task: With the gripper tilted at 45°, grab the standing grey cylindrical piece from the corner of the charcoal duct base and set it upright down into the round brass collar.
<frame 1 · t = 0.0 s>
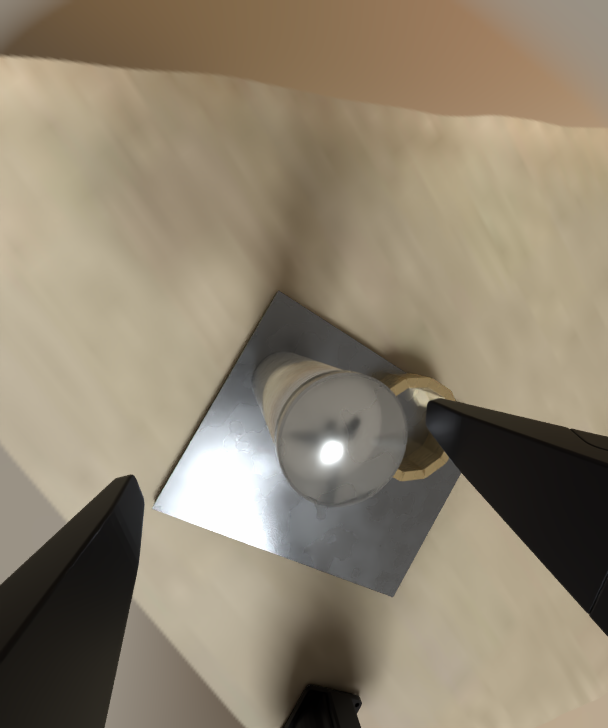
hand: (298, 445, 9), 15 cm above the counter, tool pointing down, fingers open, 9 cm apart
grey cylindrical piece: (283, 382, 24), point 1 cm above the counter, touching duct base
duct base: (338, 457, 26), on the counter
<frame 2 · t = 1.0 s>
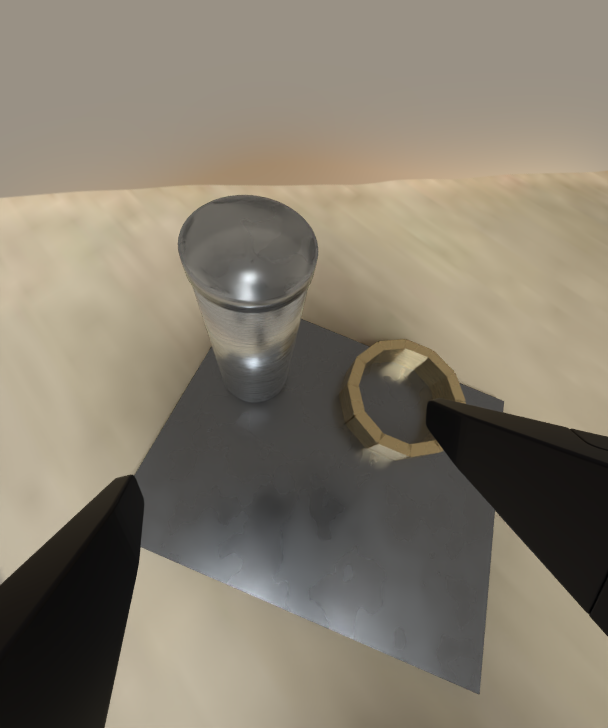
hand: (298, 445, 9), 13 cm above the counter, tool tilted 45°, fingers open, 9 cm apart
grey cylindrical piece: (255, 371, 23), point 1 cm above the counter, touching duct base
duct base: (334, 455, 22), on the counter
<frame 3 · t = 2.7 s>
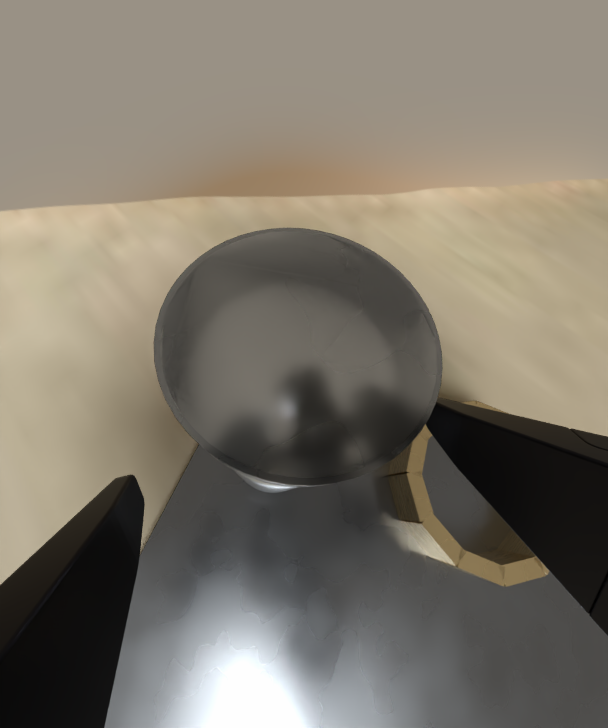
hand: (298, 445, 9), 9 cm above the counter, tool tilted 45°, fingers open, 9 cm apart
grey cylindrical piece: (275, 445, 17), point 1 cm above the counter, touching duct base
duct base: (385, 565, 16), on the counter
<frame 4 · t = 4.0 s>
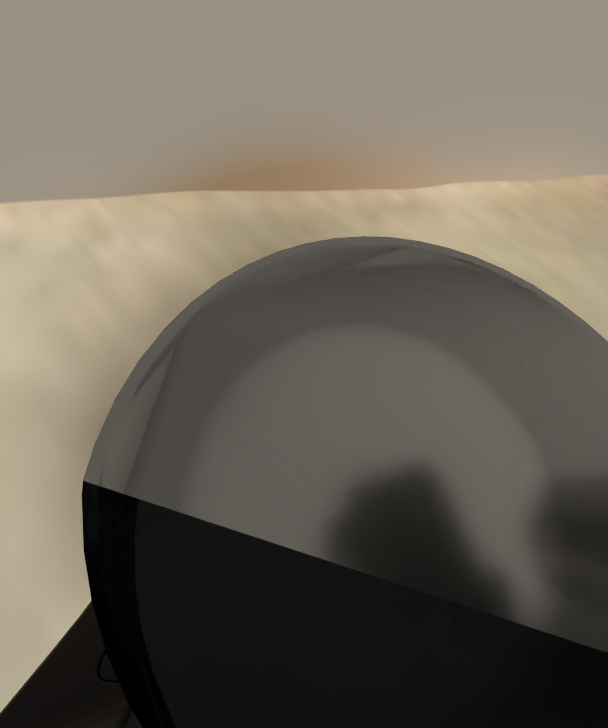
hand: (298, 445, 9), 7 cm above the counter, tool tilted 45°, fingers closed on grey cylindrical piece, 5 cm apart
grey cylindrical piece: (290, 495, 14), point 1 cm above the counter, touching duct base, gripper
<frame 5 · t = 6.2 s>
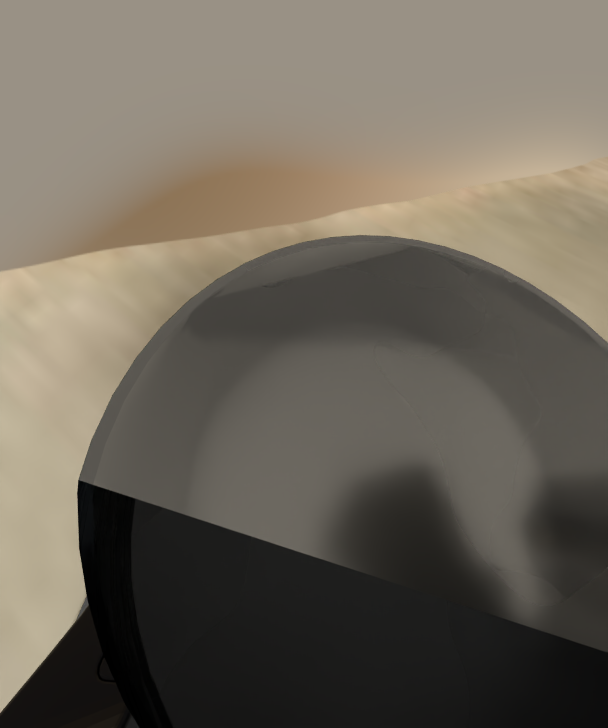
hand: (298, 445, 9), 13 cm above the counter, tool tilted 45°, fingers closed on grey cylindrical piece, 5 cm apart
grey cylindrical piece: (289, 494, 14), point 7 cm above the counter, touching gripper
when the fingers open (9 cm above the counter, at t = 8.6 s): grey cylindrical piece drops 2 cm, resting on duct base.
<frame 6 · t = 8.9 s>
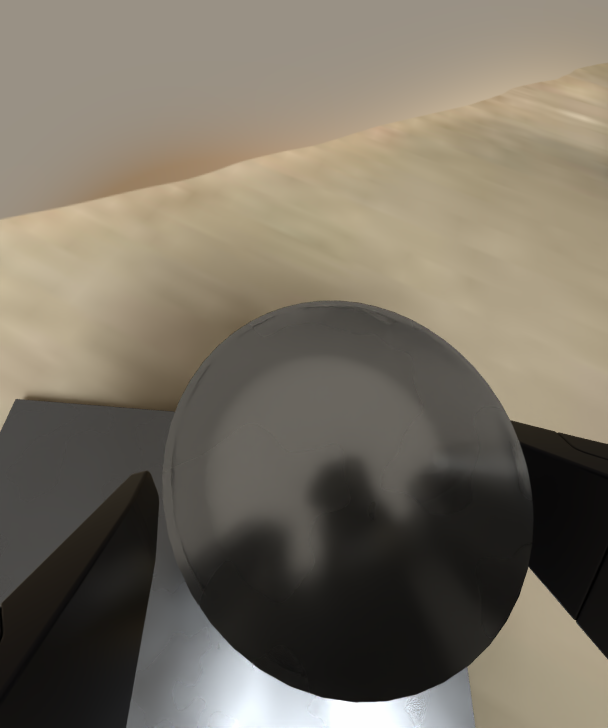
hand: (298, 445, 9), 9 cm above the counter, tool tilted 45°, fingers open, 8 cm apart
grey cylindrical piece: (287, 496, 16), point 1 cm above the counter, touching duct base
duct base: (214, 618, 14), on the counter
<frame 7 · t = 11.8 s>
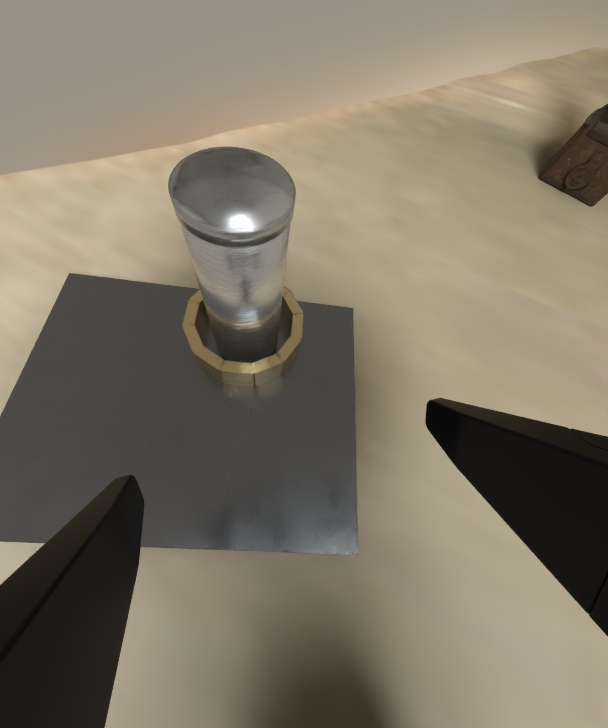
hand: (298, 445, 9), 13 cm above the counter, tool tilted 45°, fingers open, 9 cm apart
grey cylindrical piece: (247, 336, 24), point 1 cm above the counter, touching duct base
clothes iron: (574, 174, 43), on the counter
duct base: (197, 399, 22), on the counter
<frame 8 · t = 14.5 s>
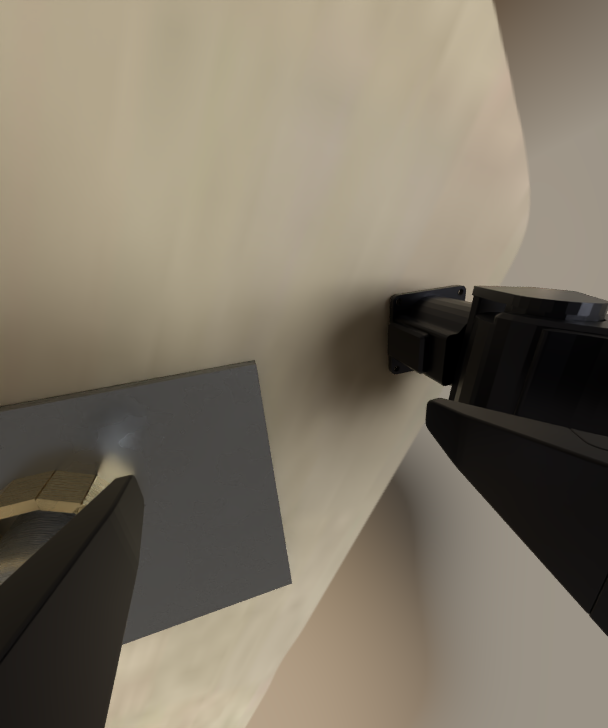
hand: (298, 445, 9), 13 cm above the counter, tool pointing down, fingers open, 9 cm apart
grey cylindrical piece: (63, 521, 21), point 1 cm above the counter, touching duct base
duct base: (159, 519, 24), on the counter
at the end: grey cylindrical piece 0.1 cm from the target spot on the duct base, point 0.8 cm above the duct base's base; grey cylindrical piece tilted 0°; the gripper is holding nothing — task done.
